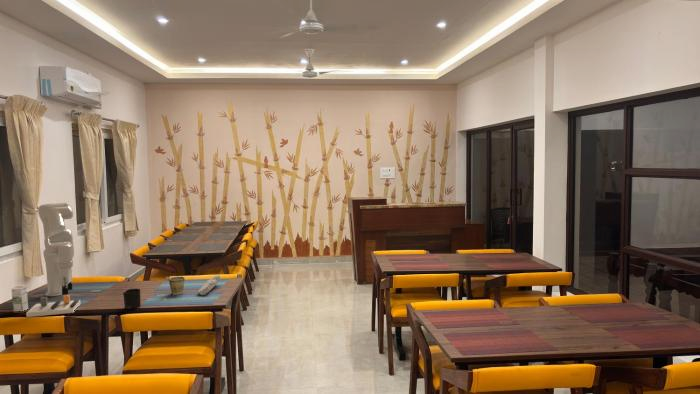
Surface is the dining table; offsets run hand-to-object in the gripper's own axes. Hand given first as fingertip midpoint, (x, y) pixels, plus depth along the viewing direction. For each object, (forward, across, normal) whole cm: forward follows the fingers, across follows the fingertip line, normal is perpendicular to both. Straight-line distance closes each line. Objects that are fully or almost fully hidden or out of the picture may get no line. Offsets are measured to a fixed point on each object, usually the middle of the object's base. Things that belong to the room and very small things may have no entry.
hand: (67, 292), depth 307 cm
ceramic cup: (+8, -8, +64) cm, 64 cm away
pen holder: (+8, +16, +38) cm, 43 cm away
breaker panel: (+8, +7, -6) cm, 12 cm away
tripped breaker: (+5, +4, 0) cm, 7 cm away
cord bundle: (+6, +8, 0) cm, 10 cm away
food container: (+8, -8, +82) cm, 83 cm away
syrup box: (+9, +2, -24) cm, 26 cm away
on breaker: (+6, +4, -12) cm, 14 cm away
